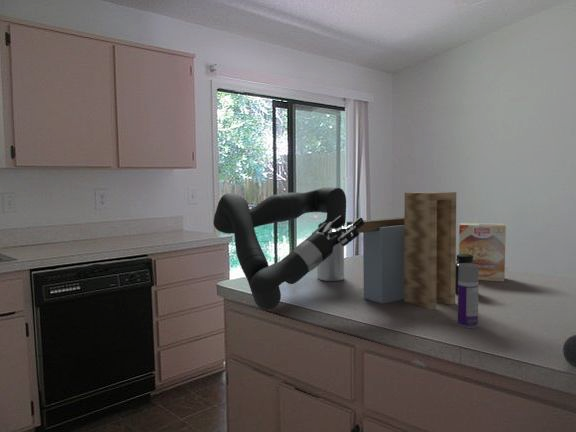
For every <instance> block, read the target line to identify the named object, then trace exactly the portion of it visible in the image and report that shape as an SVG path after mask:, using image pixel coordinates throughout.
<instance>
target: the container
mask: <svg viewBox="0 0 576 432" xmlns="http://www.w3.org/2000/svg"><path fill="white" fill-rule="evenodd" d="M479 281H480V280H479V277H478V265H477V264H473V263H460V264H459V272H458V294H457V325H458V326H460V327H462V328H466V329H473V328H478V327H479V285H480V284H479V283H480V282H479Z"/></svg>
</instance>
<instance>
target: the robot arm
mask: <svg viewBox="0 0 576 432" xmlns="http://www.w3.org/2000/svg"><path fill="white" fill-rule="evenodd" d="M308 213H324V214H326V219H325V220H324V221H321V222H320V223H318V225H317V228H316V229H315V230H314V231H313V232H312V233H311V235H309V236H308V237H307V238H306V239H304V240H303V241H302V242H300V243H299V244H298V245H297V246H296V247H295V248H293V250H292V251H291V252H289V253H288V254H287V255H286V256H284V257H283V258H282V259H281V260H279V261H278V262H275V263H272V264H271V265H269V262H268V259H267V257H266V256H265V253H264V251H263V249H262V247H261V245H260V242H259V239H258V237H257V236H258V235H257V234H256V230H255V228H257V227H258V228H259V227H261V226H265V225H270V224H274V223H281V222H287V221H291V220H292V221H294V220H295V219H298V218H299V217H301V216H302V215H305V214H308ZM346 213H347V196H346V193H345V191H344V190H343V189H342V188H340V187H333V186H332V187H330V186H329V187H320V188H319V187H318V188H316V189H313V190H310V191H305V192H283V193H277V194H273V195H270V196H269V197H266V198H265V199H263V200H262V201H261V202H259V203H257V204H256V205H255V206H253V207H252V208H250V206H249V204H248V202H247V200H246V199H245V198H244V197H243V196H242V195H239V194H237V193H233V192H232V193H225V194H223V195H222V196H221V197H220V198H219V201H218V203H217V206H216V209H215V212H214V217H213V226H214V228H215V229H216V230H217V231H218V232H221V233H222V234H228V235H231V234H232V235H233V234H234V235H233V236H234V243H235V244H234V245H235V253H236V256H237V260H238V262H239V264H240V268H241V270H242V272H243V274H244V276H245V278H246V280H247V283H248V286H249V288H250V291H251V294H252V298H253V301H254V302H255V305H257V306H258V307H259V308H261V309H263V310H267V311H268V310H269V311H270V310H272V309H275V308H276V307H278V305H279V303H280V301H281V298H282V294H281V293H282V292H281V290H280V289H281V288H280V286H281V285H282V284H283V283H287V284H288V285H294V284H296V283H297V282H299V281H300V280H301V279H303V278H304V277H305V276H306V275H307V274H308V273H309V272H312V271H313V270H314V269H317V278H318V279H319V280H321V281H325V282H336V281H337V282H338V281H343V280H344V279H345V246H347V245H349V244H350V242H352V241H353V240H354V239H356V238H357V237H358V236H359V235H360V233H358V231H357V230H358V229H359V228H360V227H361V226H362V225H364V221H363V218H362V217H358V218H357V219H355V220H354V222H353V223H352V224H351V225H349V226H347V225H346V223H347V221H346V220H347V218H346V217H347V214H346ZM345 225H346V226H345ZM348 229H349V230H348ZM347 230H348V231H347Z"/></svg>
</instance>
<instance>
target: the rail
mask: <svg viewBox="0 0 576 432" xmlns="http://www.w3.org/2000/svg"><path fill="white" fill-rule="evenodd" d="M354 221H355V220H354ZM354 221H346V227H347V226H349V225H351V224H352V223H353V222H354ZM363 221H364V225H362V226H361V227H360V228H359V229H358V230H357V231H358V233H359V234H362V233H363V232H373V231H379V227H389V226H399V225H405V216H401V217H389V218H388V217H386V218H376V219H365V220H363ZM348 230H349V229H348ZM348 230H346V232H347V231H348Z"/></svg>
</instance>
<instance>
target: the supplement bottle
mask: <svg viewBox="0 0 576 432" xmlns="http://www.w3.org/2000/svg"><path fill="white" fill-rule="evenodd" d="M472 262H473V255H469V254H459V253H458V254H456V282H455V295H458V272H459V264H460V263H472Z"/></svg>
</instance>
